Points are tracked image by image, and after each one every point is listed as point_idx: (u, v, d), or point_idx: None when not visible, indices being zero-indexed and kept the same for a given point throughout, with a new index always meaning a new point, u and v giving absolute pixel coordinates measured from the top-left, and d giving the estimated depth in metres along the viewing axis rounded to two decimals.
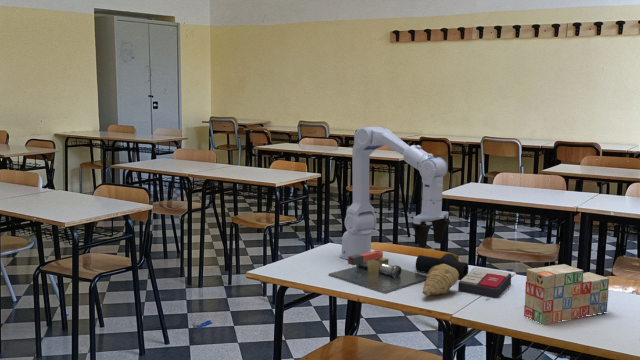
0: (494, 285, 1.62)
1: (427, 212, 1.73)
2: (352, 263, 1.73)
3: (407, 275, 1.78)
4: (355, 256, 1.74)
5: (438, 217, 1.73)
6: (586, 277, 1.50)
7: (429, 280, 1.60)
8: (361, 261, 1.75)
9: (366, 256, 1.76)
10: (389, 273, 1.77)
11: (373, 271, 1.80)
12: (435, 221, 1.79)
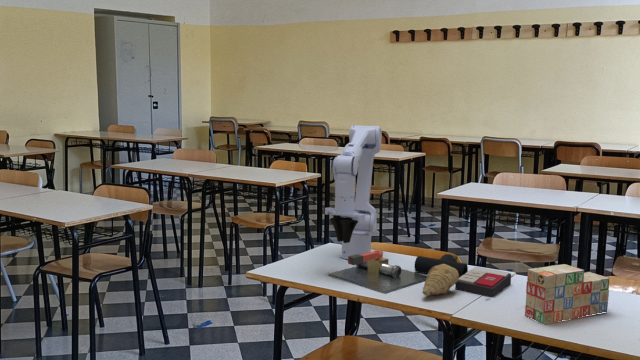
0: (490, 284, 1.63)
1: None
2: (352, 263, 1.73)
3: (407, 275, 1.78)
4: (355, 256, 1.74)
5: None
6: (587, 277, 1.50)
7: (429, 280, 1.60)
8: (361, 261, 1.75)
9: (366, 256, 1.76)
10: (389, 273, 1.77)
11: (373, 271, 1.80)
12: None
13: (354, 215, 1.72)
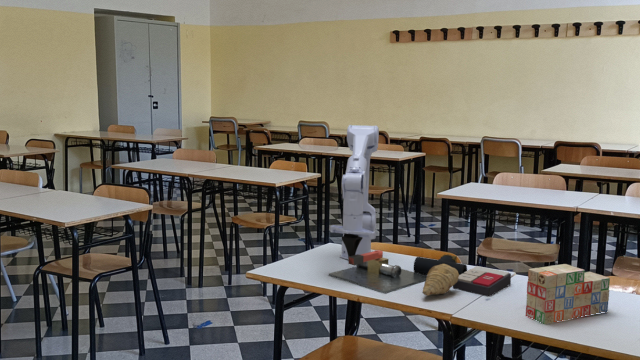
0: (486, 283, 1.63)
1: None
2: (352, 263, 1.72)
3: (407, 275, 1.78)
4: (355, 256, 1.74)
5: None
6: (587, 277, 1.50)
7: (429, 280, 1.60)
8: (361, 261, 1.74)
9: (366, 256, 1.76)
10: (389, 273, 1.77)
11: (373, 271, 1.80)
12: None
13: (365, 233, 1.71)
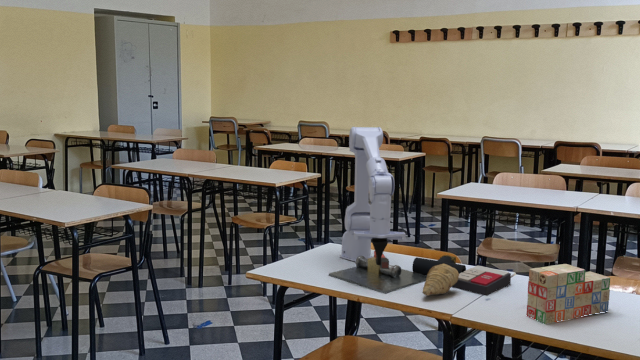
0: (484, 282, 1.64)
1: (370, 229, 1.69)
2: (387, 267, 1.69)
3: (407, 275, 1.78)
4: (385, 259, 1.71)
5: (377, 236, 1.67)
6: (588, 276, 1.51)
7: (429, 280, 1.60)
8: None
9: (384, 257, 1.75)
10: (389, 273, 1.77)
11: (373, 271, 1.80)
12: None
13: (398, 235, 1.69)
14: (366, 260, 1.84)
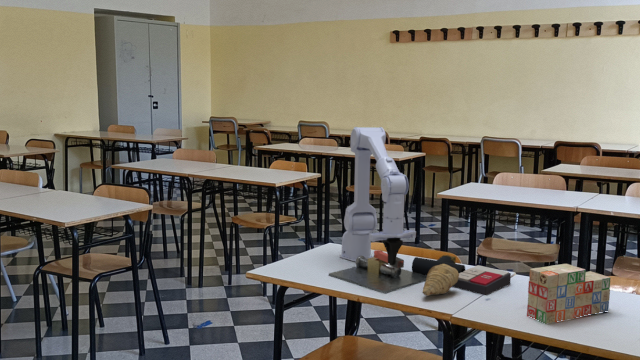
0: (484, 282, 1.64)
1: (385, 230, 1.69)
2: (402, 266, 1.71)
3: (407, 275, 1.78)
4: (398, 258, 1.72)
5: (396, 236, 1.67)
6: (588, 276, 1.51)
7: (429, 280, 1.60)
8: None
9: None
10: (389, 273, 1.77)
11: (373, 271, 1.80)
12: None
13: (410, 233, 1.72)
14: (366, 260, 1.84)
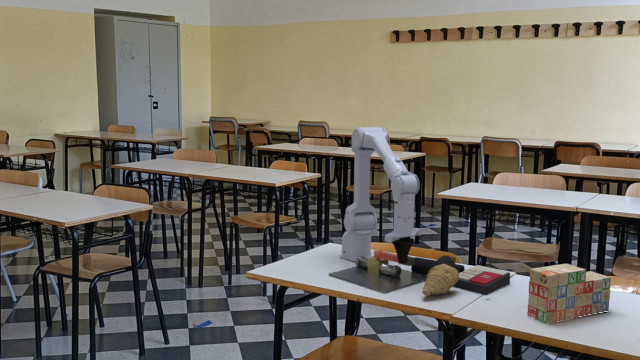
0: (483, 282, 1.65)
1: (398, 230, 1.70)
2: (413, 263, 1.74)
3: (407, 275, 1.78)
4: (408, 256, 1.74)
5: (410, 235, 1.69)
6: (588, 276, 1.51)
7: (429, 280, 1.60)
8: None
9: None
10: (389, 273, 1.77)
11: (373, 271, 1.80)
12: None
13: (417, 231, 1.75)
14: (366, 260, 1.84)
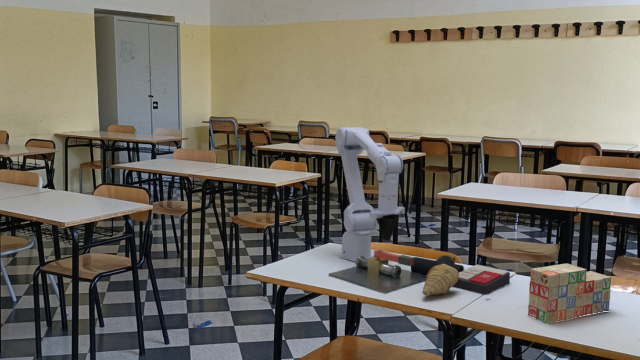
0: (483, 281, 1.65)
1: (383, 207, 1.78)
2: (413, 263, 1.74)
3: (407, 275, 1.78)
4: (408, 256, 1.74)
5: (394, 212, 1.78)
6: (588, 276, 1.51)
7: (429, 280, 1.60)
8: None
9: None
10: (389, 273, 1.77)
11: (373, 271, 1.80)
12: None
13: (401, 209, 1.83)
14: (366, 260, 1.84)
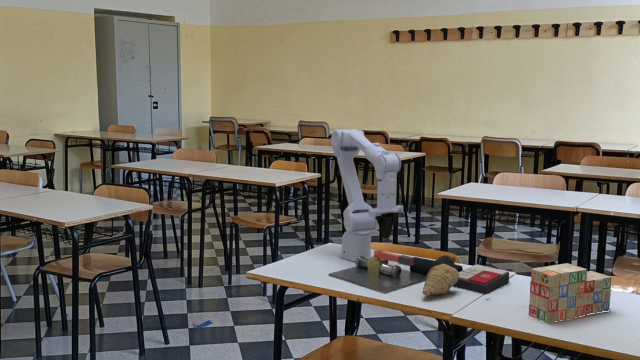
0: (483, 281, 1.65)
1: (382, 206, 1.80)
2: (413, 263, 1.74)
3: (407, 275, 1.78)
4: (408, 256, 1.74)
5: (392, 210, 1.80)
6: (589, 276, 1.51)
7: (429, 280, 1.60)
8: None
9: None
10: (389, 273, 1.77)
11: (373, 271, 1.80)
12: None
13: (400, 207, 1.85)
14: (366, 260, 1.84)
